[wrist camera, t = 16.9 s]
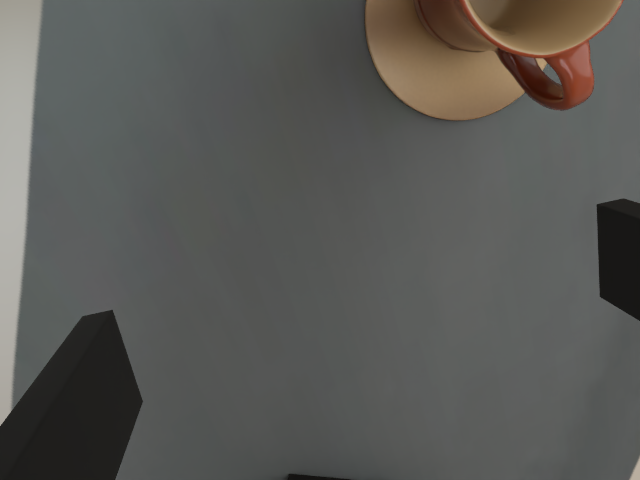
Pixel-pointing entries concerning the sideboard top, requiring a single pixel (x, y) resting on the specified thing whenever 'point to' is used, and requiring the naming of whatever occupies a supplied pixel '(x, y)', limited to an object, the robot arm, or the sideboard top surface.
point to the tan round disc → (434, 66)
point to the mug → (526, 39)
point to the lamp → (310, 477)
